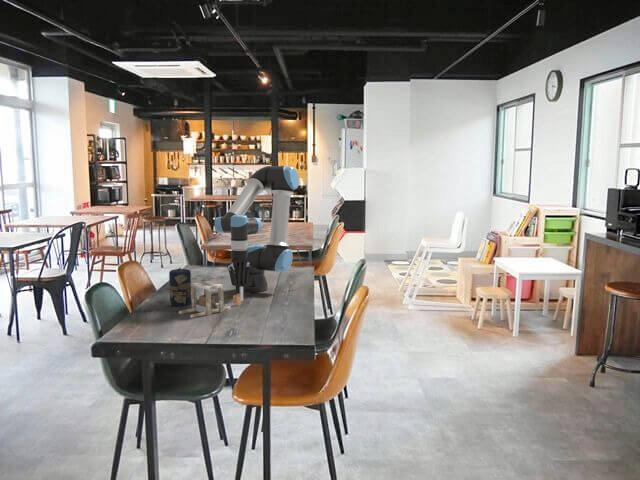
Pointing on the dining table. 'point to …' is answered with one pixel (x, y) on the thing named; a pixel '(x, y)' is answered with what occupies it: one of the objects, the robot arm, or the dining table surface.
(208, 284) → the cream wooden rail frame
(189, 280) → the canister
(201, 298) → the block
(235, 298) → the orange and grey bar
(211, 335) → the dining table surface
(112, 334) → the dining table surface
